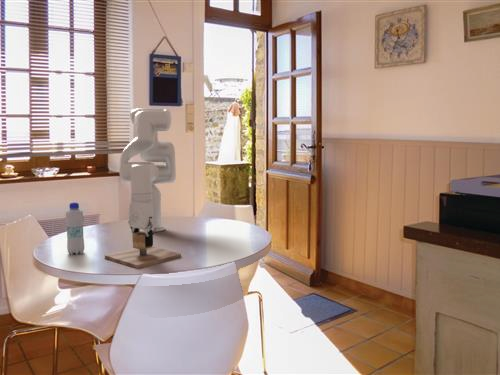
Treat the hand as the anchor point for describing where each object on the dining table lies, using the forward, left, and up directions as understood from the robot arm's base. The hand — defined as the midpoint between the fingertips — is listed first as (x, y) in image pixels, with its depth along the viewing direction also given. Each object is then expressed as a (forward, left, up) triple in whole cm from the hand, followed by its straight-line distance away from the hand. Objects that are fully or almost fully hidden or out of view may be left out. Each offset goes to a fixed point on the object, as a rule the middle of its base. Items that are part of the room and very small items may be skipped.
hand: (142, 244), depth 181 cm
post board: (0, 0, -5) cm, 5 cm away
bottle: (-25, -13, -5) cm, 29 cm away
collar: (0, 0, -1) cm, 1 cm away
